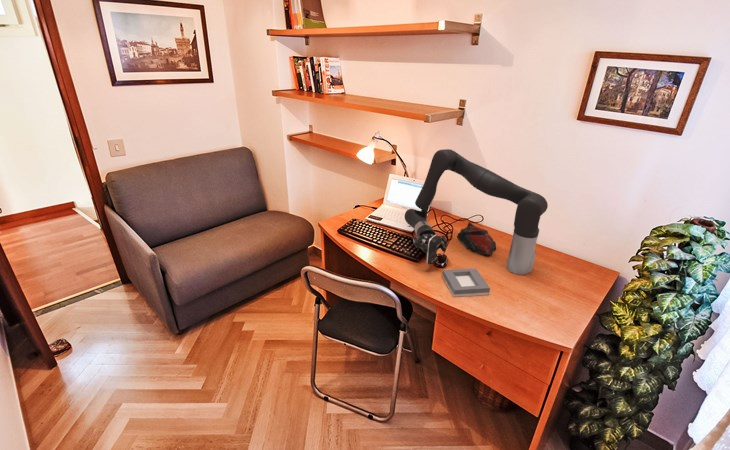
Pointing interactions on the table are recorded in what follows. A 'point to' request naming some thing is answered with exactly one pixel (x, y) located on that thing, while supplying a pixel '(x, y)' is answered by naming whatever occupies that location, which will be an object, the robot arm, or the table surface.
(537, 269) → the table surface
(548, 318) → the table surface
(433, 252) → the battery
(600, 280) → the table surface
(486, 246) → the drone shell
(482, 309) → the table surface
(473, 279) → the tray
